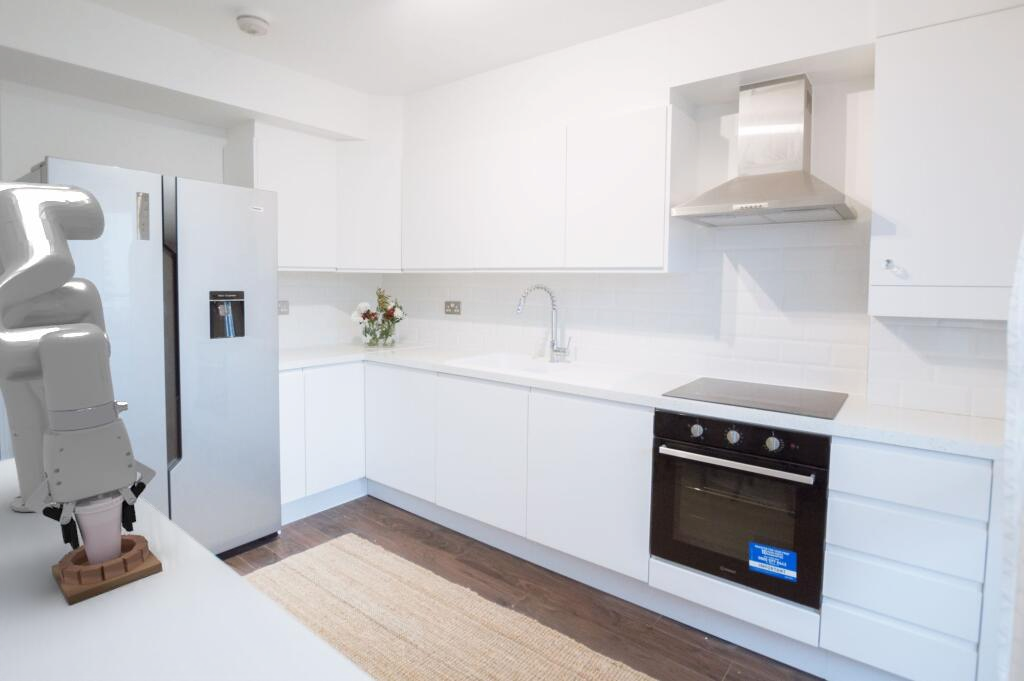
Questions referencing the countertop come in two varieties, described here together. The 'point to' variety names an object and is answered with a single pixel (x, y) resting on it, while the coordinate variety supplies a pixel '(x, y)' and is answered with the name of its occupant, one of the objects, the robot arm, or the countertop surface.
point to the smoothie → (100, 526)
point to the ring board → (104, 569)
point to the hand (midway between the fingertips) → (101, 536)
